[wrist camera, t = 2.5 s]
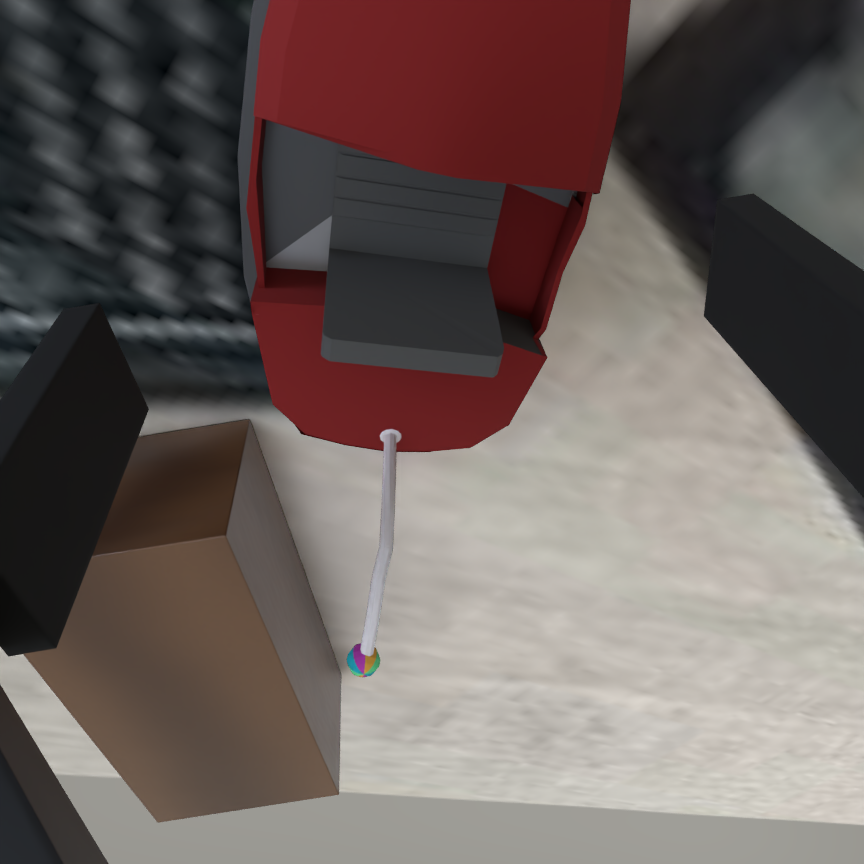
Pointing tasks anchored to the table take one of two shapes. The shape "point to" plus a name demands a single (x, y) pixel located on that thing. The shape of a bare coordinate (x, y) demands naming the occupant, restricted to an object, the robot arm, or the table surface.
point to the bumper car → (416, 212)
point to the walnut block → (201, 636)
